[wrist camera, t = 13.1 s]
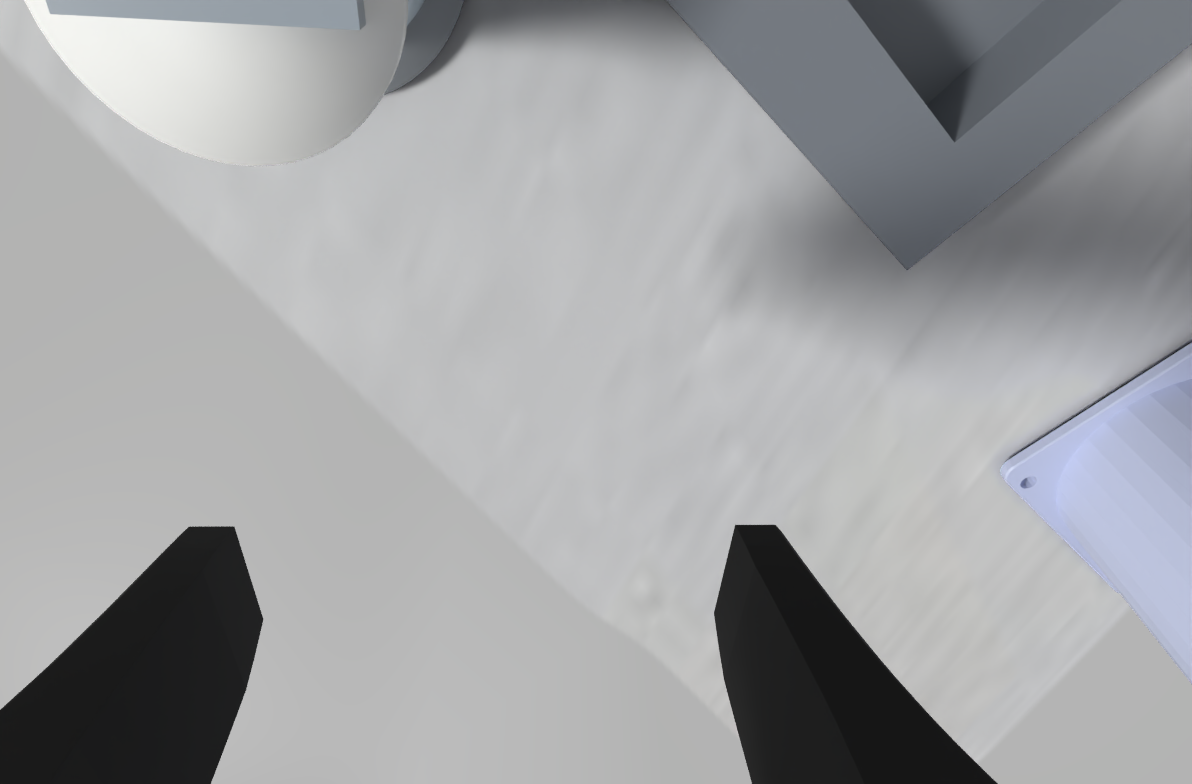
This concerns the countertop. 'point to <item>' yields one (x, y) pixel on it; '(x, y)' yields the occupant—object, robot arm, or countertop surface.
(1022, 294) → the countertop surface
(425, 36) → the pad
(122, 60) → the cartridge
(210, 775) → the robot arm
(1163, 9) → the grey flat block
